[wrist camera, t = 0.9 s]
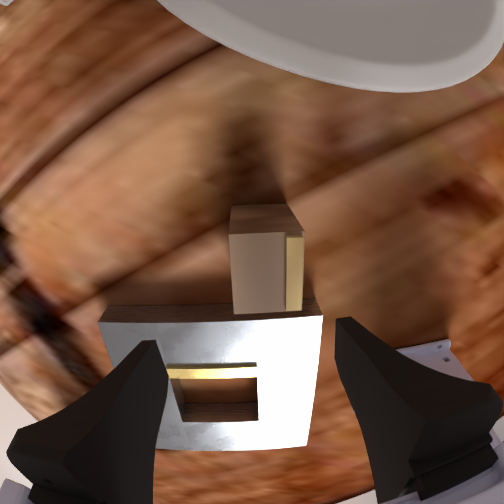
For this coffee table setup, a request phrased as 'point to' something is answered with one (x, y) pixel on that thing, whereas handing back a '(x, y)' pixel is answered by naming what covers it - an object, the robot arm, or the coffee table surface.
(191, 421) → the plate
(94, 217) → the coffee table surface
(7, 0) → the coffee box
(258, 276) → the tan rectangular block
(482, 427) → the robot arm
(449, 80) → the soup bowl
